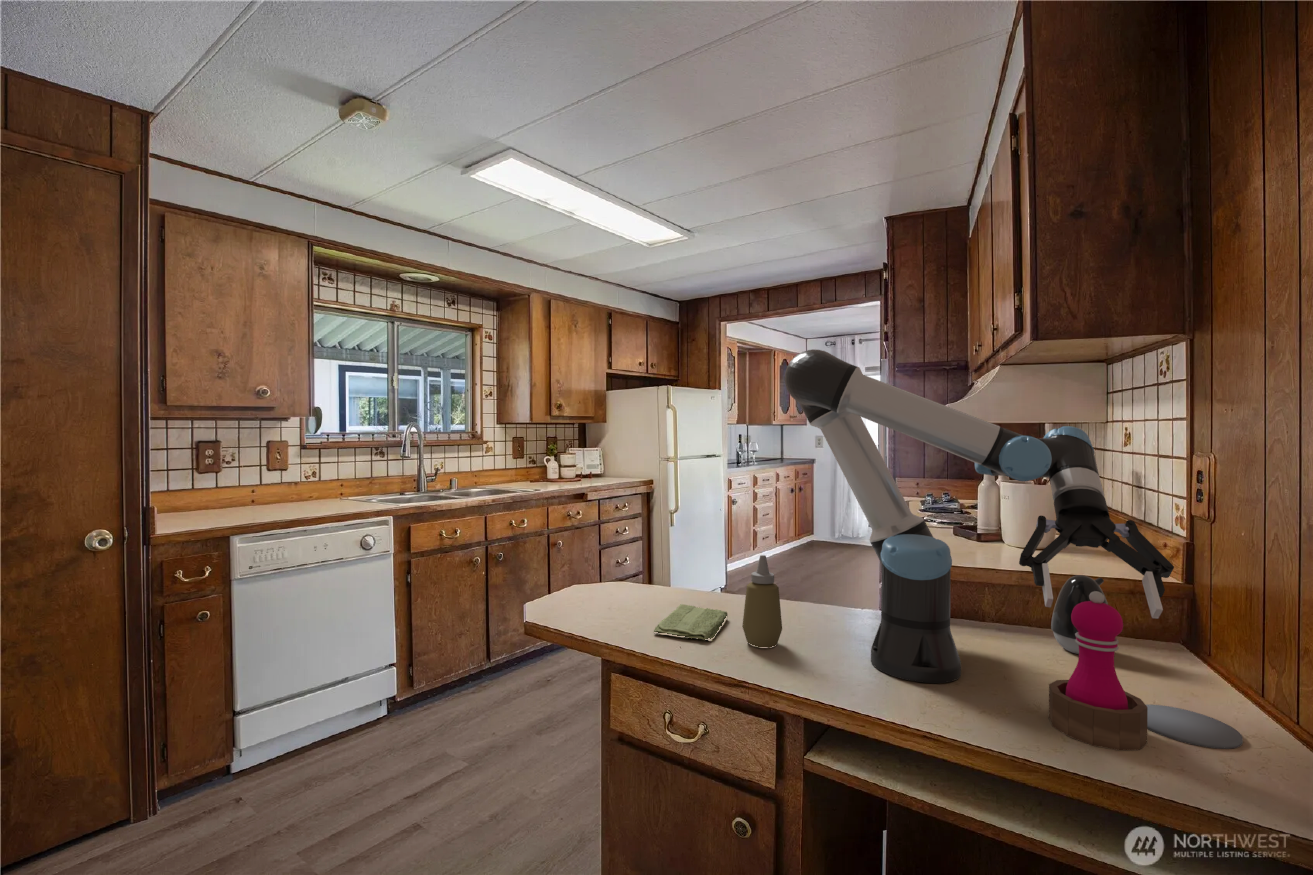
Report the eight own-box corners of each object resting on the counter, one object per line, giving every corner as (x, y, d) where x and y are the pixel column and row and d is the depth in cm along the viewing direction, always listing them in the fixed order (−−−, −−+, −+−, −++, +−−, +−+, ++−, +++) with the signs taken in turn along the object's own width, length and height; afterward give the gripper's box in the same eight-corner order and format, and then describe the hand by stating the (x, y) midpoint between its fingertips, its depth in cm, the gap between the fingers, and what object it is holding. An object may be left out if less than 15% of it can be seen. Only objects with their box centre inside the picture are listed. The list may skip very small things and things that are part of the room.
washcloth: (650, 638, 123) (651, 622, 123) (678, 614, 139) (678, 601, 139) (710, 646, 118) (711, 630, 118) (732, 621, 134) (732, 607, 134)
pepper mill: (1139, 745, 80) (1140, 599, 80) (1080, 739, 81) (1081, 596, 81) (1110, 720, 87) (1111, 586, 87) (1056, 715, 88) (1057, 584, 89)
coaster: (1119, 721, 87) (1119, 717, 87) (1146, 701, 94) (1146, 698, 94) (1230, 758, 77) (1230, 753, 77) (1251, 732, 84) (1252, 728, 84)
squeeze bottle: (737, 648, 116) (738, 557, 116) (747, 635, 124) (747, 550, 124) (778, 654, 113) (779, 561, 113) (785, 640, 120) (786, 553, 121)
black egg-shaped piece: (1128, 658, 113) (1129, 579, 113) (1088, 663, 110) (1088, 582, 110) (1077, 640, 123) (1077, 568, 123) (1038, 645, 120) (1039, 571, 120)
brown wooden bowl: (1036, 724, 86) (1036, 690, 86) (1067, 705, 92) (1068, 674, 92) (1129, 758, 77) (1129, 720, 77) (1156, 735, 83) (1157, 700, 83)
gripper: (1162, 516, 101) (1198, 631, 87) (995, 508, 111) (1005, 610, 98) (1174, 489, 96) (1215, 606, 82) (999, 483, 106) (1010, 586, 93)
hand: (1101, 608), depth 90 cm, fingers open, 13 cm apart
